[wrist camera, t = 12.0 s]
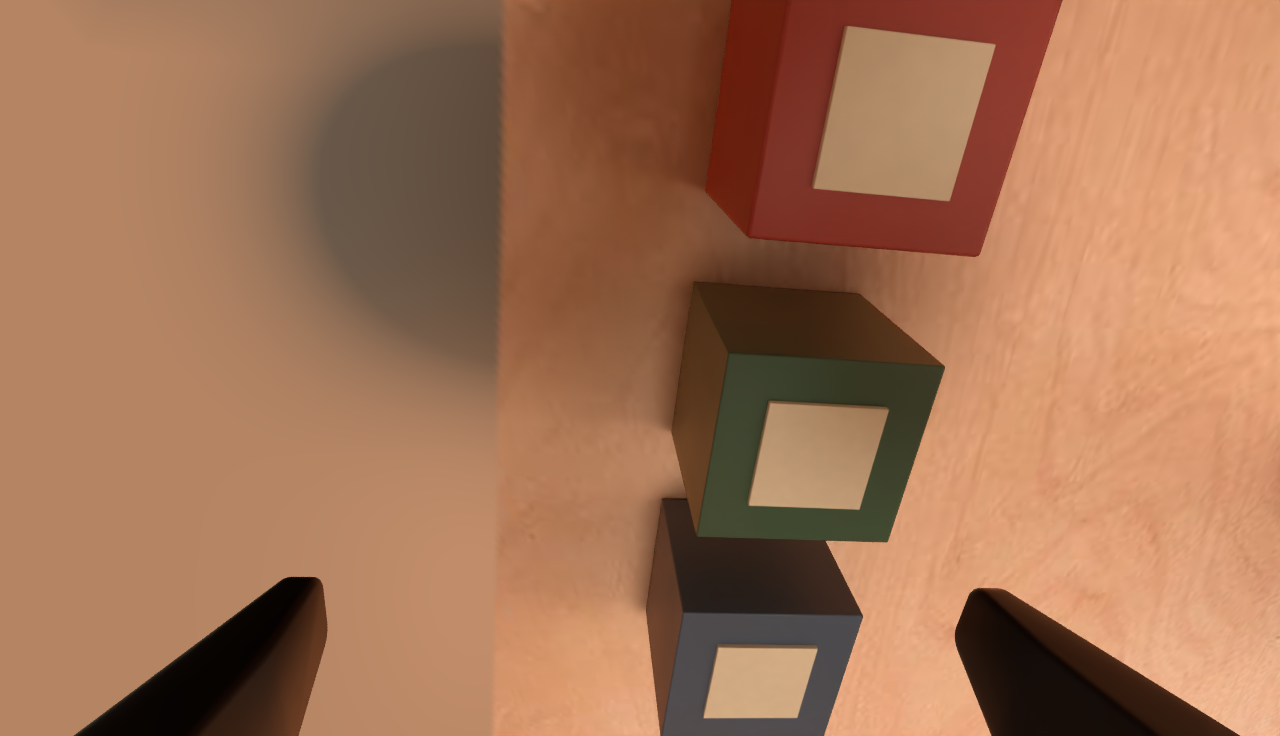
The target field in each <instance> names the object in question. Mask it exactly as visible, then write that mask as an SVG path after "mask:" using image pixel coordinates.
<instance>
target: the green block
mask: <svg viewBox="0 0 1280 736" xmlns="http://www.w3.org/2000/svg"><path fill="white" fill-rule="evenodd" d="M944 369H945V366H944V365H943V364H942V363H940V362H939V361H938V360H937V359H936V358H934V357H933V356H932V355H931V354H930V353H929V352H927V351H926V350H925V349H924V348H923V347H922V346H920V345H919V344H918V343H917V342H916V341H914V340H913V339H912V338H911V337H910V336H909V335H907V334H906V333H905V332H904V331H903V330H902V329H900V328H899V327H898V326H897V325H896V324H895V323H893V322H892V321H891V320H890V319H889V318H887V317H886V316H885V315H884V314H883V313H882V312H880V311H879V310H878V309H877V308H876V307H875V306H873V305H872V304H871V303H870V302H869V301H868V300H866V299H865V298H864V297H863V296H862V295H860V294H848V293H835V292H822V291H809V290H796V289H783V288H770V287H757V286H744V285H730V284H717V283H704V282H694V283H693V287H692V294H691V301H690V308H689V315H688V322H687V329H686V336H685V343H684V350H683V357H682V364H681V371H680V378H679V385H678V392H677V399H676V406H675V413H674V420H673V427H672V436H673V440H674V444H675V448H676V453H677V457H678V461H679V465H680V469H681V473H682V478H683V482H684V486H685V490H686V494H687V498H688V503H689V507H690V511H691V515H692V519H693V523H694V528H695V532H696V536H698V537H727V538H760V539H793V540H825V541H858V542H888V539H889V536H890V533H891V530H892V527H893V524H894V521H895V518H896V515H897V512H898V509H899V506H900V503H901V500H902V497H903V494H904V491H905V488H906V485H907V482H908V479H909V476H910V473H911V470H912V467H913V464H914V460H915V457H916V454H917V451H918V448H919V445H920V442H921V439H922V436H923V433H924V430H925V427H926V424H927V421H928V418H929V415H930V412H931V409H932V406H933V403H934V400H935V397H936V394H937V391H938V388H939V385H940V381H941V378H942V375H943V372H944Z"/></svg>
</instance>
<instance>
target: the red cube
mask: <svg viewBox="0 0 1280 736" xmlns="http://www.w3.org/2000/svg"><path fill="white" fill-rule="evenodd" d="M1061 3H1062V0H732V5H731V12H730V19H729V26H728V34H727V41H726V48H725V55H724V62H723V69H722V76H721V83H720V90H719V97H718V104H717V111H716V118H715V126H714V133H713V140H712V147H711V154H710V161H709V168H708V175H707V182H706V189H705V190H706V193H707V194H708V195H709V196H710V197H711V198H712V199H713V200H714V201H715V202H716V203H717V205H718V206H719V207H720V208H721V209H722V210H723V211H724V212H725V213H726V214H727V215H728V216H729V218H730V219H731V220H732V221H733V222H734V223H735V224H736V225H737V226H738V227H739V228H740V229H741V231H742V232H743V233H744V234H745V235H746V236H747V237H749V238H755V239H767V240H779V241H791V242H803V243H815V244H827V245H839V246H850V247H862V248H874V249H886V250H898V251H910V252H922V253H934V254H946V255H957V256H969V257H976V256H979V254H980V252H981V249H982V246H983V243H984V240H985V237H986V234H987V231H988V228H989V224H990V221H991V218H992V215H993V212H994V209H995V206H996V203H997V200H998V197H999V194H1000V191H1001V188H1002V185H1003V181H1004V178H1005V175H1006V172H1007V169H1008V166H1009V163H1010V160H1011V157H1012V154H1013V151H1014V148H1015V145H1016V142H1017V138H1018V135H1019V132H1020V129H1021V126H1022V123H1023V120H1024V117H1025V114H1026V111H1027V108H1028V105H1029V102H1030V98H1031V95H1032V92H1033V89H1034V86H1035V83H1036V80H1037V77H1038V74H1039V71H1040V68H1041V65H1042V62H1043V59H1044V55H1045V52H1046V49H1047V46H1048V43H1049V40H1050V37H1051V34H1052V31H1053V28H1054V25H1055V22H1056V19H1057V16H1058V12H1059V9H1060V6H1061Z"/></svg>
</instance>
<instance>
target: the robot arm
mask: <svg viewBox="0 0 1280 736" xmlns="http://www.w3.org/2000/svg"><path fill="white" fill-rule="evenodd" d="M326 638H327V617H326V608H325V600H324V592H323V585H322V583H321V581H320V580H319V579H318V578H316V577H287V578H285V579H283V580H281V581H280V582H278V583H277V584H276V585H274V586H273V587H272V588H270V589H269V590H268V591H266V592H265V593H264V594H262V595H261V596H260V597H258V598H257V599H256V600H254V601H253V602H252V603H250V604H249V605H248V606H246V607H245V608H244V609H242V610H241V611H240V612H238V613H237V614H236V615H234V616H233V617H232V618H230V619H229V620H228V621H226V622H225V623H223V624H222V625H221V626H220V627H218V628H217V629H216V630H214V631H213V632H211V633H210V634H209V635H207V636H206V637H205V638H204V639H202V640H201V641H200V642H198V643H197V644H195V645H194V646H193V647H191V648H190V649H189V650H187V651H186V652H185V653H184V654H182V655H181V656H179V657H178V658H177V659H175V660H174V661H173V662H171V663H170V664H169V665H167V666H166V667H165V668H163V669H162V670H161V671H160V672H158V673H157V674H155V675H154V676H153V677H151V678H150V679H149V680H147V681H146V682H145V683H144V684H142V685H141V686H139V687H138V688H137V689H135V690H134V691H133V692H131V693H130V694H129V695H127V696H126V697H125V698H123V699H122V700H121V701H119V702H118V703H117V704H115V705H114V706H113V707H112V708H110V709H109V710H107V711H106V712H105V713H103V714H102V715H101V716H99V717H98V718H97V719H95V720H94V721H93V722H92V723H90V724H89V725H87V726H86V727H85V728H83V729H82V730H81V731H79V732H78V733H77V734H76V735H74V736H298V735H299V731H300V728H301V725H302V722H303V718H304V715H305V711H306V708H307V705H308V701H309V698H310V694H311V691H312V687H313V684H314V681H315V677H316V674H317V671H318V667H319V664H320V660H321V657H322V654H323V650H324V647H325V643H326ZM955 642H956V647H957V650H958V652H959V655H960V657H961V660H962V662H963V665H964V667H965V670H966V673H967V675H968V678H969V680H970V683H971V685H972V688H973V690H974V693H975V695H976V698H977V700H978V703H979V705H980V708H981V710H982V713H983V715H984V718H985V720H986V723H987V725H988V728H989V731H990V733H991V736H1240V735H1238V734H1237V733H1235V732H1233V731H1232V730H1230V729H1229V728H1227V727H1225V726H1224V725H1222V724H1220V723H1219V722H1217V721H1216V720H1214V719H1212V718H1211V717H1209V716H1208V715H1206V714H1204V713H1203V712H1201V711H1199V710H1198V709H1196V708H1195V707H1193V706H1191V705H1190V704H1188V703H1187V702H1185V701H1183V700H1182V699H1180V698H1178V697H1177V696H1175V695H1174V694H1172V693H1170V692H1169V691H1167V690H1166V689H1164V688H1162V687H1161V686H1159V685H1158V684H1156V683H1154V682H1153V681H1151V680H1149V679H1148V678H1146V677H1145V676H1143V675H1141V674H1140V673H1138V672H1137V671H1135V670H1133V669H1132V668H1130V667H1128V666H1127V665H1125V664H1124V663H1122V662H1120V661H1119V660H1117V659H1116V658H1114V657H1112V656H1111V655H1109V654H1108V653H1106V652H1104V651H1103V650H1101V649H1099V648H1098V647H1096V646H1095V645H1093V644H1091V643H1090V642H1088V641H1087V640H1085V639H1083V638H1082V637H1080V636H1079V635H1077V634H1075V633H1074V632H1072V631H1070V630H1069V629H1067V628H1066V627H1064V626H1062V625H1061V624H1059V623H1058V622H1056V621H1054V620H1053V619H1051V618H1049V617H1048V616H1046V615H1045V614H1043V613H1041V612H1040V611H1038V610H1037V609H1035V608H1033V607H1032V606H1030V605H1029V604H1027V603H1025V602H1024V601H1022V600H1020V599H1019V598H1017V597H1016V596H1014V595H1012V594H1011V593H1009V592H1007V591H1006V590H1003V589H998V588H977V589H974V590H973V591H972V592H971V593H970V594H969V596H968V599H967V601H966V604H965V606H964V609H963V611H962V614H961V617H960V619H959V622H958V624H957V627H956V630H955Z"/></svg>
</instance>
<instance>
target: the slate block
mask: <svg viewBox="0 0 1280 736" xmlns="http://www.w3.org/2000/svg"><path fill="white" fill-rule="evenodd" d="M646 615H647V624H648V632H649V641H650V649H651V658H652V666H653V675H654V684H655V692H656V701H657V709H658V718H659V727H660V735H661V736H824V734H825V731H826V728H827V725H828V722H829V719H830V715H831V712H832V709H833V706H834V703H835V700H836V697H837V694H838V691H839V688H840V685H841V682H842V679H843V676H844V673H845V670H846V667H847V664H848V661H849V658H850V655H851V652H852V649H853V646H854V643H855V640H856V636H857V633H858V630H859V627H860V624H861V621H862V618H863V615H862V613H861V611H860V609H859V607H858V605H857V603H856V601H855V599H854V597H853V595H852V593H851V591H850V589H849V587H848V585H847V583H846V581H845V579H844V577H843V575H842V573H841V571H840V569H839V567H838V565H837V563H836V561H835V559H834V557H833V555H832V553H831V551H830V549H829V547H828V545H827V543H826V541H825V540H793V539H760V538H727V537H698V536H696V532H695V528H694V523H693V519H692V515H691V511H690V507H689V503H688V500H683V499H662V503H661V510H660V517H659V524H658V531H657V538H656V545H655V552H654V559H653V566H652V573H651V580H650V587H649V594H648V601H647V608H646Z"/></svg>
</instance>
